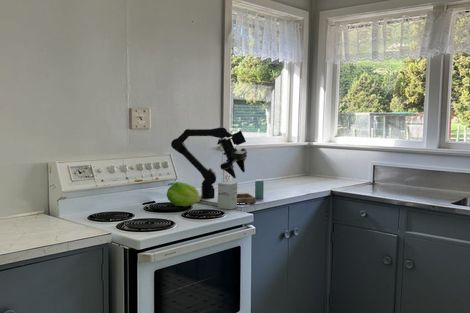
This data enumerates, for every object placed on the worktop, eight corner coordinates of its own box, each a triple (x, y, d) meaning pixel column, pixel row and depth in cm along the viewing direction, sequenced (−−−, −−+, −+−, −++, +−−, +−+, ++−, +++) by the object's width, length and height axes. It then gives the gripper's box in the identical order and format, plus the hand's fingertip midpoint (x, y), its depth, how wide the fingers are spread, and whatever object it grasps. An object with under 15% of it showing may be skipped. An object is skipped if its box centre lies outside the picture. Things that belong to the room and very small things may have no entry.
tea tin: (255, 198, 254) (255, 180, 253) (255, 197, 259) (255, 179, 258) (263, 198, 254) (263, 180, 253) (263, 197, 258) (263, 179, 257)
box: (231, 204, 238) (231, 199, 238) (225, 199, 251) (224, 194, 250) (255, 203, 242) (255, 197, 241) (248, 198, 254) (248, 193, 254)
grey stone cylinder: (217, 208, 230) (217, 183, 229) (224, 205, 237) (224, 180, 236) (230, 209, 227) (230, 184, 226) (237, 207, 234) (237, 182, 232)
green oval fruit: (187, 212, 220) (186, 187, 219) (162, 206, 235) (161, 182, 233) (209, 208, 230) (209, 184, 229) (183, 202, 244) (183, 179, 243)
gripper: (230, 150, 243) (242, 178, 244) (249, 140, 257) (259, 166, 259) (214, 155, 249) (226, 182, 251) (233, 145, 264) (244, 170, 266)
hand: (239, 175), depth 257 cm, fingers open, 9 cm apart
